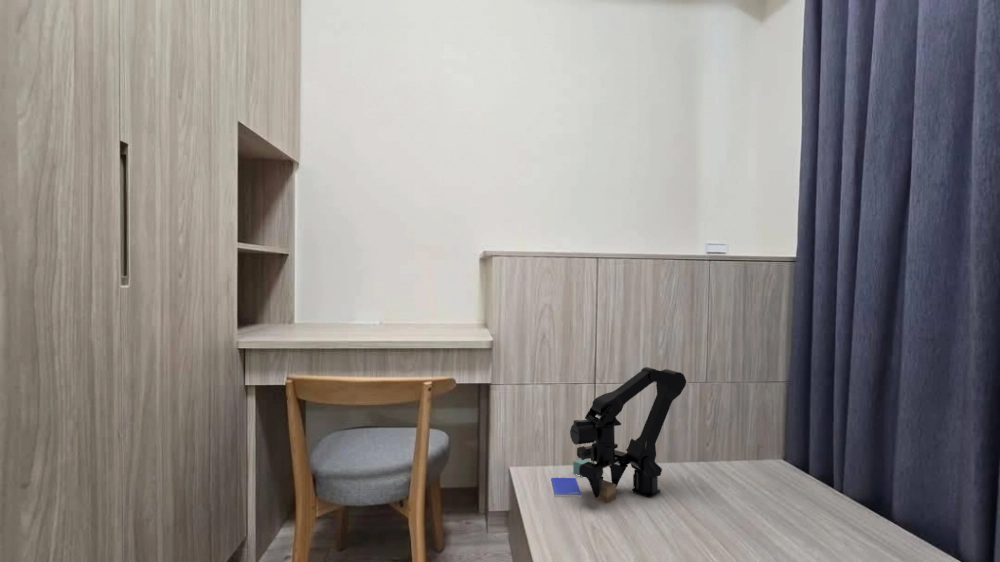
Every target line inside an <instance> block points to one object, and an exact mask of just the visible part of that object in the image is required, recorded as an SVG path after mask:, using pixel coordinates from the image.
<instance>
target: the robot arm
mask: <svg viewBox="0 0 1000 562" xmlns="http://www.w3.org/2000/svg"><path fill="white" fill-rule="evenodd" d="M654 382H655V383H656V384H655V386H656V396H655V399H654V401H653V403H652V406H651V408H650V411H649V413H648V415H647V418H646V421H645V423H644V426H643V428H642V430H641V432H640V435H639V436H638V438H636V439H633V438H631V439H630V441H629V444H628V447H627V448H626V449H625V451H626V452H623V451H620V450H617V449H618V445H619V444H617V443H615V440H616V439H615V435H616V434H615V430H616V429H615V427H618V426H622V423H621V422H620V421H619V420H618V419H617V416H618V415H619V414H620V413H621V412H622V411H623V408H624V406H625V405H626V403H628V402H629V401H630V400H632V399H633V398H634V397H636V396H637V395H638V394H639V393H641V392H643V390H645V389H646V388H647V387H648V386H650V385H652V384H653V383H654ZM686 385H687V379H686V377H685V375H684V374H683V373H682V372H679V371H676V370H671V369H668V368H665V369H662V370H659V369H656V368H652V367H648V366H645V367H643V368H641V370H640V371H639V372H638V373H636V374H634V376H632V377H631V378H629V379H628V380H627V381H626V382H624V383H623V384H622V385H620V386H619V387H618V388H616V389H615V390H613V391H610V392H607V393H603V394H602V395H599V396H598V397H596V398H594V400H592V402H591V403H592V405H591V407H590V408H589V410H588V411H587V413H586V415H585V417H584V419H581V420H579V419H576V420H573V423H572V425H571V427H570V430H569V435H570V439H571V442H572V443H573V445H575V446H577V445H578V447H577V448H576V456H577V458H578V459H580V458H581V460H584V459H586V460H589V459H590V461H592V463H591V462H586V463H584V464H582V465H580V466H579V474H580V475H582V476H584V477H586V479H587V481H588V483H589V485H590V488H591V490H592V493H593V496H594V498H595V497H596V498H598V496H599V493H600V490H601V486H602V482H603V480H604V476H603V475H604V469H606V468H610V469H609V470H610V477H611V483H614V484H616V488H617V487H618V485H619V483H620V481H621V479H622V478H623V477H622V476H623V474H624V473H625V471H626V469H627V468H628V466H629V464H630V466H631V468H632V469H634V471H633V474H632V475H633V476H632V479H633V480H632V481H633V482H632V484H633V485H632V486H633V488H632V489H631V492H632V491H633V492H632V493H635V492H636V493H635V494H638V495H641V496H644V497H647V498H652V497H654V496H656V495H657V494H659V493H661V489H659V483H658V482H659V481H658V479H659V478H658V477H660V476H661V475H662V471H663V469H662V467H661V466H660V465H659V464H658V463H657V462H656V458H657V448H656V444H657V441H658V438H659V436H660V433H661V432H662V431H661V430H662V428H663V426H664V423H665V420H666V418H667V416H668V413H669V410H670V408H671V405H672V404H673V401H674V400H675V399H676V398H678V397H679V396H680V395H681V394H682V393H683V391H684V389H685V387H686ZM597 416H598V417H597ZM585 444H591V445H588V446H585ZM579 445H583V446H579ZM594 462H595V463H594Z"/></svg>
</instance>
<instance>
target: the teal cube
mask: <svg viewBox="0 0 1000 562" xmlns="http://www.w3.org/2000/svg"><path fill="white" fill-rule="evenodd" d="M586 462H591V463H593V461H591V460H589V459H584V460H581V458H578V459H576V460H573V462H572V464H573V465H572V466H573V467H572V468H573V473H574V474H577V475H580V474H579V466H580V465H582V464H584V463H586ZM574 474H573V475H574ZM577 475H576V476H577ZM580 476H582V475H580ZM582 477H584V476H582ZM582 477H581V478H582Z"/></svg>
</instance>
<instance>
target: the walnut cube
mask: <svg viewBox="0 0 1000 562" xmlns="http://www.w3.org/2000/svg"><path fill="white" fill-rule="evenodd" d="M594 499H595V500H597V501H599V502H602V503H604V504H607V505H608V504H610V503H612V502H613V501H614V500H616V499H617V487H616V484H614V483H612V481H611V482H610V481H608V480H604V479H603V482H602V486H601V490H600V493H599V496H598V498H596V497H595V496H594Z"/></svg>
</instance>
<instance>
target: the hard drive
mask: <svg viewBox="0 0 1000 562" xmlns="http://www.w3.org/2000/svg"><path fill="white" fill-rule="evenodd" d="M550 481H551V482H552V483H551V482H550V483H551V487H552V491H553V495H555V496H554V498H582V497H583V495H582V493H581V490H580V486H579V483H578V481H577V479H576V478H575V477H551V478H550Z"/></svg>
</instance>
